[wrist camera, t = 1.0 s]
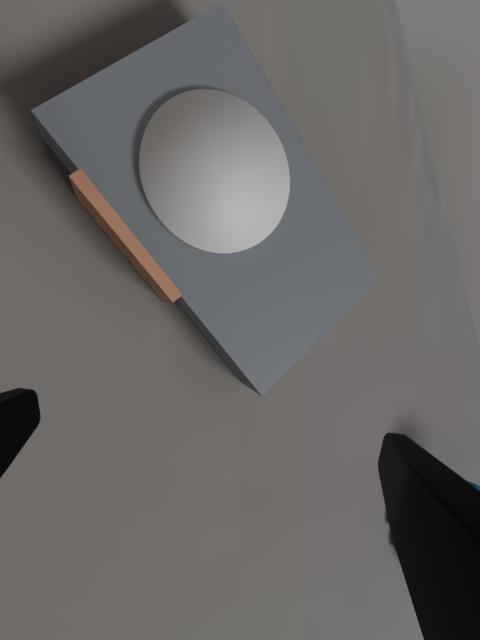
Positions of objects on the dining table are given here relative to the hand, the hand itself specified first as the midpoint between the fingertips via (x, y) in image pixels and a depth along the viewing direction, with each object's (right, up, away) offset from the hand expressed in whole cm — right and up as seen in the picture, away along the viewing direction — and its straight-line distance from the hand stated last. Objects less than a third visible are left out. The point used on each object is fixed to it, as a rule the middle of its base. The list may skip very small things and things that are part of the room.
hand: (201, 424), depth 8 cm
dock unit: (0, +8, +12) cm, 15 cm away
